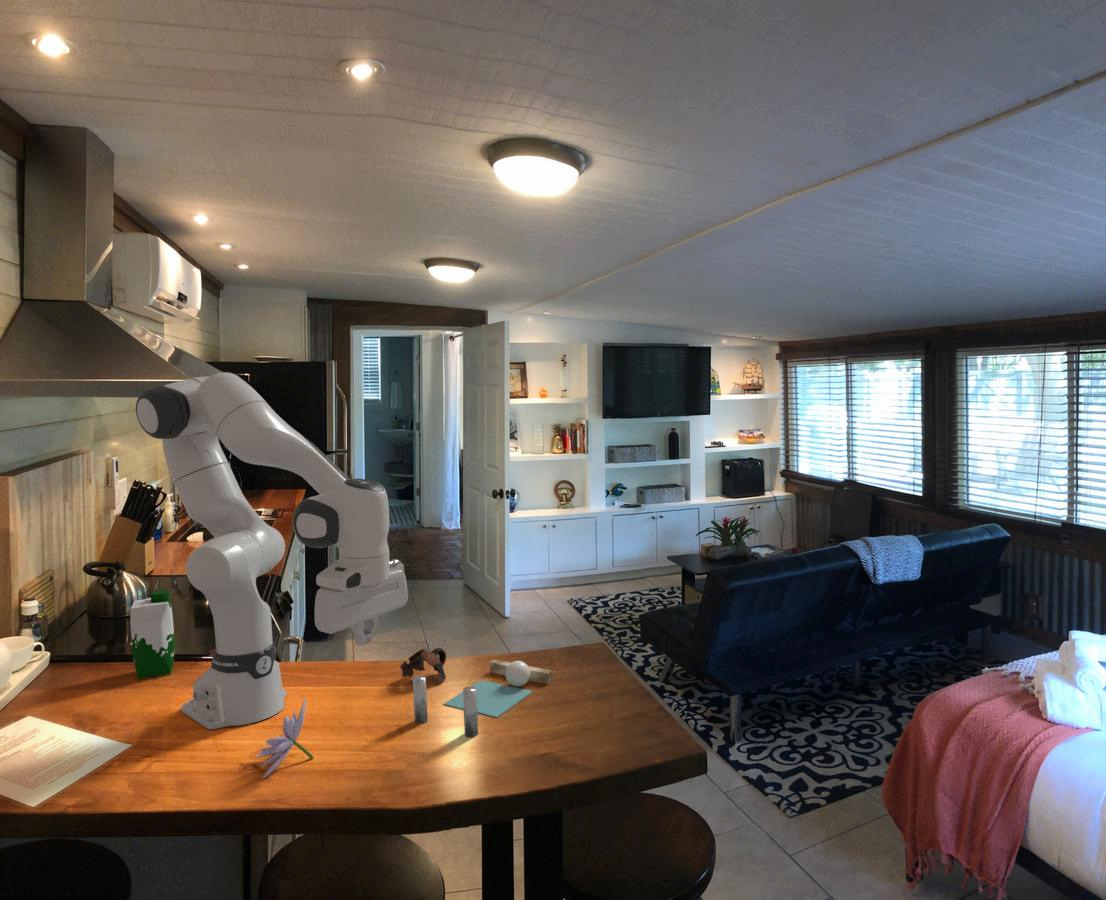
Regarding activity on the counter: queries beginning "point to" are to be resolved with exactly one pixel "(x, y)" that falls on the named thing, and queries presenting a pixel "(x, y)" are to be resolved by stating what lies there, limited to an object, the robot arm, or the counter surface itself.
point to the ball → (517, 673)
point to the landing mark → (492, 698)
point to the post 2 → (470, 711)
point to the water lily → (285, 741)
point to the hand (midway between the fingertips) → (364, 642)
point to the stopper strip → (535, 673)
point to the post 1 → (420, 699)
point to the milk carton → (152, 635)
